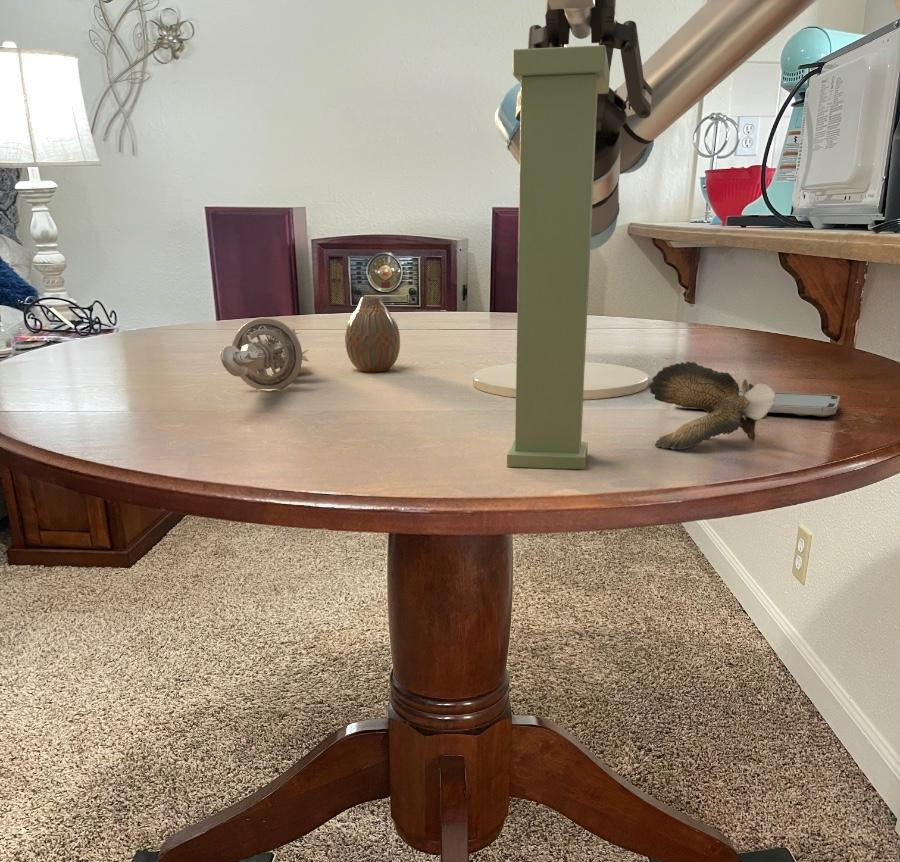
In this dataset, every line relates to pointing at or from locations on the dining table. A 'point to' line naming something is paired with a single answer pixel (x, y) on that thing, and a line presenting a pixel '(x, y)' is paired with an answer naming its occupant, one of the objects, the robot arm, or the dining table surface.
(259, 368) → the spaceship
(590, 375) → the plate
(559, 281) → the stand
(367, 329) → the vase
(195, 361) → the dining table surface
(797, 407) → the smartphone
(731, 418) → the eagle figurine
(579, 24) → the red rounded bar
